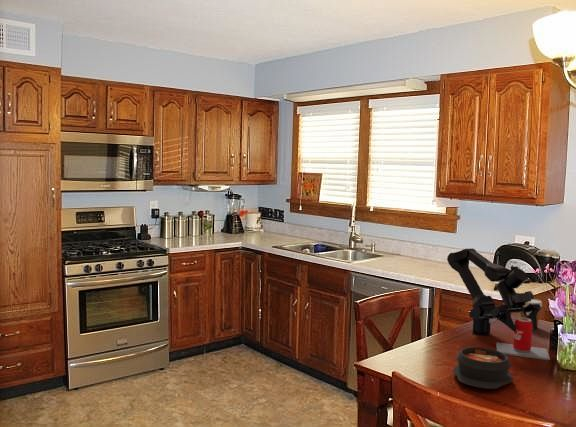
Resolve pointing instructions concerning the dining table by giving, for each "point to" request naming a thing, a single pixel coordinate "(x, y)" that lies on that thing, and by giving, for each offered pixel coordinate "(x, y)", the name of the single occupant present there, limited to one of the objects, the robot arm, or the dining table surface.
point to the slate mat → (533, 353)
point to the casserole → (483, 368)
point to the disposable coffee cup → (533, 303)
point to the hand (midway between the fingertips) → (526, 330)
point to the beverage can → (523, 334)
